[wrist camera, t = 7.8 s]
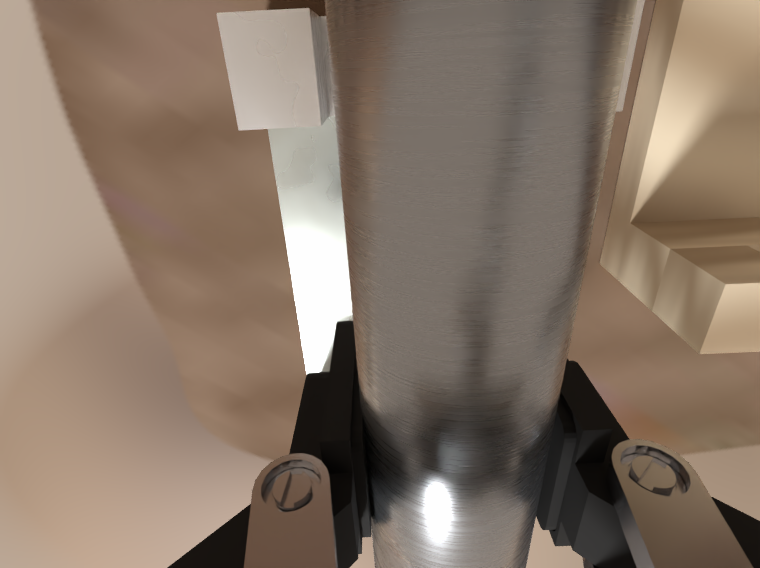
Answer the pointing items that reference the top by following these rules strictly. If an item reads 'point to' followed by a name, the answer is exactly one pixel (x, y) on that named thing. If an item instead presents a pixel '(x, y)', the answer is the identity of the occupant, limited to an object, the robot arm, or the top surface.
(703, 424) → the top surface
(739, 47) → the bearing stand
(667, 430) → the top surface
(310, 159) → the v block stand
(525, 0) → the axle
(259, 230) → the top surface
